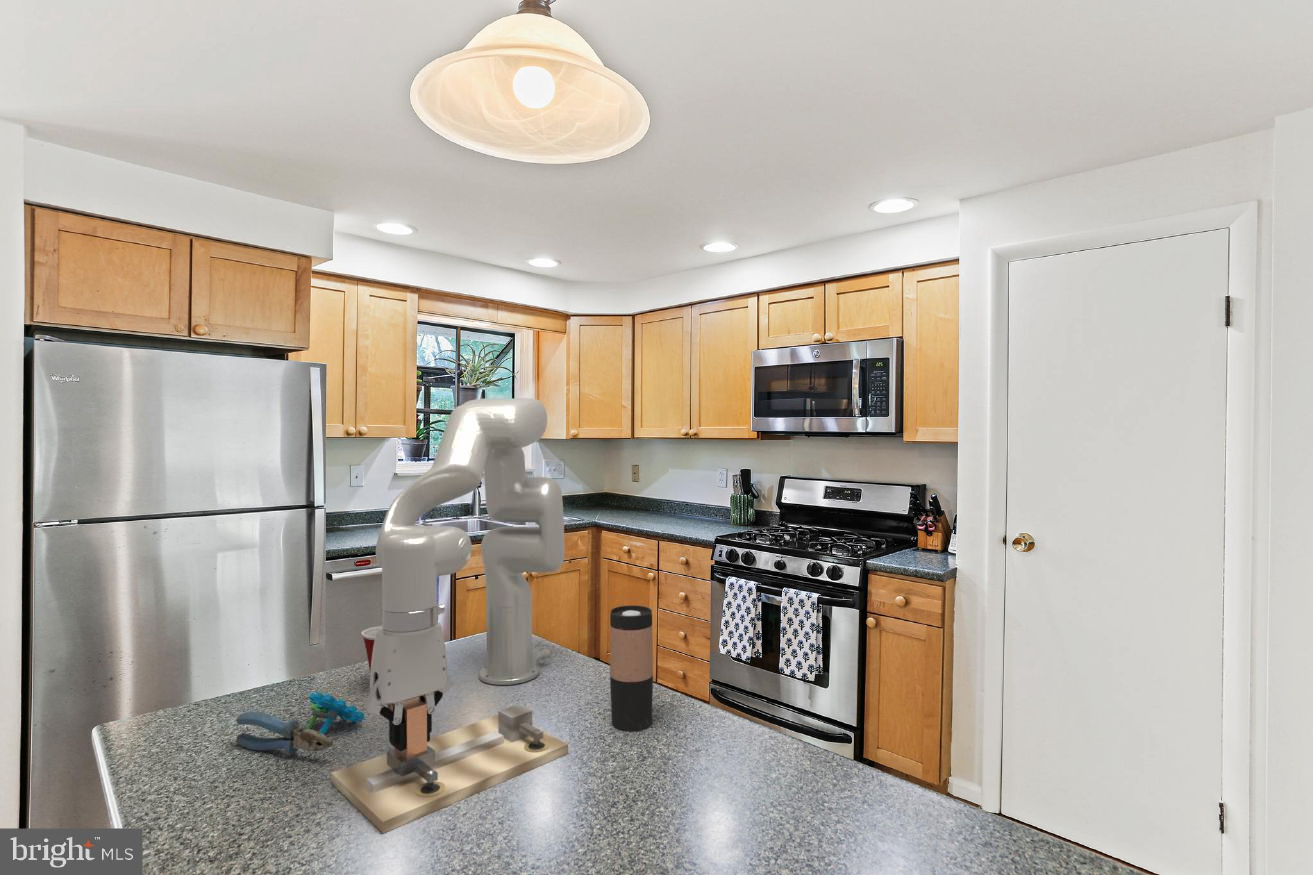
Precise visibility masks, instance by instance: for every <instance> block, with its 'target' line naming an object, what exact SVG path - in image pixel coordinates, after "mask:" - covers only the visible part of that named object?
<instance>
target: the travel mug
mask: <svg viewBox="0 0 1313 875" xmlns="http://www.w3.org/2000/svg"><path fill="white" fill-rule="evenodd" d="M609 618H610V620H609V623H610V625H609V629H610V630H609V634H610V635H609V675H610V676H609V680H610V681H609V682H610V683H609V685H610V707H611V708H610V710H611V713H610V714H611V724H612V726H613V727H614V728H615V729H617V730H619V731H623V732H639V731H642V730H646V729H648V728H649V727H650V726H651V725H652V722H653V721H652V720H653V694H654V692H653V691H654V690H653V689H654V688H653V687H654V664H653V663H654V655H653V654H654V652H653V650H654V648H653V644H654V642H653V610H652V609H651V608H650V607H648V606H643V605H635V604H634V605H632V604H631V605H629V604H628V605H620V606H616V607H614V608H612V609H610V617H609Z"/></svg>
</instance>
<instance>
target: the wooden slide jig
mask: <svg viewBox="0 0 1313 875" xmlns="http://www.w3.org/2000/svg"><path fill="white" fill-rule="evenodd" d="M497 712H498V713H497V714H496V715H493V716H491V717H488V718H485V719H482V720H479V721H476V722H473V723H471V724H468V725H465V726H461V727H459V728H455V729H453V730H451V731H448V732H447V731H446V732H444V733H442V734H439V735H436V736H433V737H430V741H429V742H427V745H428V746H429V747H431V748H432V749H434V750H435V764H434V765H431V766H429V767H431V768H432V769H433V770H435V771H436V772H437V773H438V780H436V781H434V786H432V787H427V781H426V780H425V779H424V778H422V777H421V776H420V775H419V774H417V773H416V772H413V773H410V774H408V775H405V776H401V775H399V774H398V773H397V772H396V771H395V770H393V769H392V768H391V767H390V766H388V765H387V753H385V754H382V755H378V756H375V757H373V758H369V759H368V760H364V761H360V762H358V763H355V764H352V765H350V766H346V767H344V768H341V769H338V770H335V771H332V772H331V776H330V777H331V779H330V780H331V781H330V782H331V784H332V785H333V786H334V787H335V788H336V789H337V790H338V791H339V792H340V793H341V794H342V795H343V796H344V795H345V796H344V797H345V798H346V797H347V798H346V799H347V800H348V799H349V802H350V803H351V804H352V805H353V806H354V807H355V808H356V809H357V810H358V811H359V812H360V813H362V814H363V816H364V817H366V819H367V820H369V821H370V822H371V823H372V825H374V827H376V829H378V831H380V832H381V833H382V834H385V833H388V832H389V831H392V830H394V829H397V828H399V827H401V826H404V825H405V824H409V823H411V822H414V821H415V820H417V819H419V818H421V817H424V816H426V815H429V814H432V813H433V812H436V811H438V810H441V809H444V808H445V807H447V806H450V805H452V804H454V803H457V802H459V801H461V800H464V799H466V798H469V797H471V796H473V795H475V794H477V793H480V792H482V791H486V790H487V789H489V788H491V787H494V786H496V785H499V784H501V783H503V782H505V781H508V780H510V779H512V778H515V777H517V776H519V775H521V774H524V773H527V772H529V771H531V770H533V769H536V768H538V767H540V766H542V765H545V764H547V763H550V762H552V761H553V760H557V759H559V758H561V757H564V756H566V755H568V754H569V743H567V742H565V741H563V740H561V739H559V738H557V737H555V736H553V735H551V734H549V733H547V732H546V731H544V730H542V729H539V728H538V727H536V726H535V725H533V710H532V709H530V708H528V707H526V706H524V705H522V704H521V703H518V704H517V703H516V704H515V705H512V706H508V707H506V708H502V709H499V710H497Z"/></svg>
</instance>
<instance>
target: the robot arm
mask: <svg viewBox="0 0 1313 875" xmlns="http://www.w3.org/2000/svg"><path fill="white" fill-rule="evenodd" d="M547 424H548V414H547V410H546V408H545V406H544V404H543V403H542V402H541V400H539V399H537V398H529V397H528V398H526V397H524V398H496V397H495V398H491V397H490V398H477V399H471V400H468V401H465V402H464V403H462V404H459V405H458V406H456V407H454V409H453V410H452V411H451V413H450V415H449V417H448V420H447V423H446V426H445V428H444V431H443V435H442V438H441V440H440V442H439V446H438V448H437V452H436V454H435V457H434V460H433V463H432V466H431V467H430V468H429V469H428V470H427V471H426V472H424V473H423V474H422V475H420V476H418V477H417V478H416V479H414V480H413V482H411V483H410V484H409V485H407V486H406V487H405V488H404V489H403V490H402V491H401V492H400V493H399V494H398V495H397V496H396V497H395V499H393V501H392V502H391V504H390V506H389V508H388V509H387V511H386V514H385V517H384V519H383V522H382V525H381V527H380V530H379V533H378V535H377V536H378V537H377V541H376V546H375V558H376V561H377V563H378V565H379V567H380V568H381V570H382V571H381V579H382V580H381V586H382V590H381V591H382V592H381V594H382V596H381V598H382V607H381V608H382V611H381V612H382V617H381V620H382V621H381V622H382V625H381V626H382V627H383V628H382V630H379V631H377V633H376V637H375V641H374V646H373V653H372V661H371V672H370V671H369V673H370V674H369V691H370V692H369V695H368V697H367V699H366V701H365V703H364V705H363V709H364V710H363V711H366V712H367V713H368V714H373V715H377V716H382V717H383V718H384V719H386V720H387V721H388V728H389V729H388V731H389V732H388V741H389V744H390V745H391V746H392V747H393V748H396V749H397V750H399V751H400V752H401V751H404V750H405V723H404V722H402V711H403V701H406V700H410V699H413V698H418V699H419V700H421V701H423V702H424V703H426V704H427V742H429V741H430V738H431V733H432V731H433V728H432V727H433V723H432V722H433V719H432V718H433V717H432V716H433V714H434V712H436V706H437V705H438V704H439V703H440V701H441V700H442V698H443V696H445V695H446V694H447V693H448V692H449V691H450V690H452V689H453V687H454V682H453V681H452V678H451V677H450V675H449V674H448V662H447V661H448V659H447V649H446V643H445V638H444V633H443V628H442V625H441V623H440V622H438V621H439V615H442V614H444V613H445V612H446V609H445V605H444V604H438V599H437V598H438V595H437V594H438V593H437V591H438V588H437V587H438V586H437V585H438V584H437V582H438V581H437V577H441V576H448V575H453V574H455V573H458V572H460V571H461V570H463V568H465V566H467V564H468V562H469V560H470V558H471V555H472V548H473V546H472V541H471V537H470V536H469V535H468V533H467V532H466V531H465V530H463V529H462V528H460V527H457V526H450V525H415V524H416V522H417V521H418V520H419V519H420V518H421V517H423V516H424V515H425V514H427V513H428V512H429V511H431V510H432V509H434V508H436V507H439V506H441V505H443V504H446V503H448V502H451V501H454V500H455V499H456V500H457V499H459V498H461V497H463V496H466V495H468V494H470V493H471V492H473V491H475V490H476V489H478V487H479V485H480V484H481V482H482V478H483V479H484V495H485V506H486V511H487V515H488V517H489V518H490V519H492V520H493V521H496V522H502V523H504V522H505V523H536V524H537V525H538V526H500V527H499V526H498V527H495V528H492V529H490V530H489V531H487V532H486V533H485V534H484V535H483V538H482V541H481V544H480V548H481V549H480V550H481V551H480V552H481V559H482V560H481V561H482V564H483V569H484V575H485V576H484V578H485V595H486V596H485V599H486V600H485V601H486V611H485V612H486V614H485V615H486V620H485V621H486V622H485V623H486V665H485V666H483V667H482V668H481V669H480V670H479V672H478V673H479V674H478V677H479V680H480V681H482V682H484V683H485V684H488V685H489V684H491V685H494V686H495V685H498V686H511V685H518V684H522V683H526V682H529V681H532V680H533V679H535V678H537V677H538V675H539V674H540V666H539V664H537V663H538V662H539V661H540V660H541V659H543V660H544V659H547V658H550V657H551V655H552V653H551V652H552V651H551V650H550V648H544V649H540V650H539V648H533V615H532V614H533V604H532V603H533V594H532V593H533V592H532V589H531V586H530V584H529V582H528V581H527V579H526V577H524V575H523V573H541V574H543V573H544V574H545V573H554V572H557V571H558V570H561V569H560V568H562V566H563V563H564V562H565V561H564V560H565V555H566V554H565V553H566V550H565V549H566V547H565V526H564V525H565V523H564V521H565V520H564V503H563V502H564V501H563V495H562V490H561V487H560V484H559V483H558V482H557V481H556V480H555V479H553V478H550V477H546V476H545V477H543V476H537V477H535V476H528V474H527V473H526V461H525V460H526V457H525V452H524V449H523V448H525V447H527V446H531V445H532V444H534V443H536V442H539V441H540V439H542V437H543V436H544V434H545V432H546V431H547V427H548V426H547ZM483 476H484V477H483ZM380 701H381V703H382V704H380Z"/></svg>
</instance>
